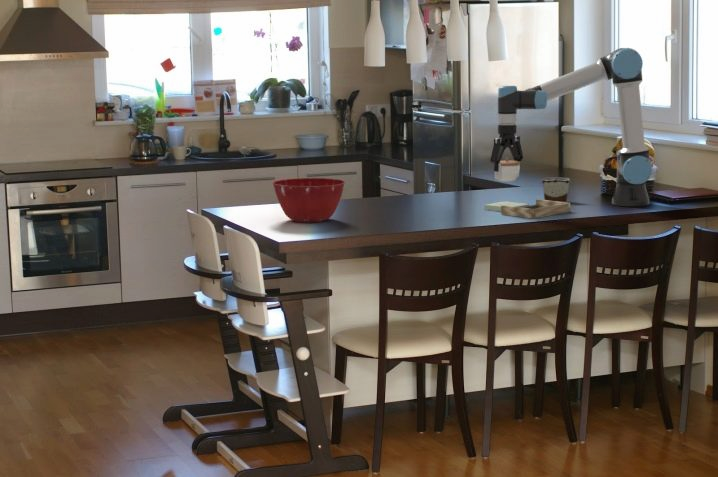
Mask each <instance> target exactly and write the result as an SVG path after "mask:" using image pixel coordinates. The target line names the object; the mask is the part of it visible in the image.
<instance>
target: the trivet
mask: <svg viewBox="0 0 718 477" xmlns="http://www.w3.org/2000/svg"><path fill="white" fill-rule="evenodd" d="M502 205H505V206H513V207H524V206H530V204H529V203H523V202H522V203H521V202H515V201H513V202H512V201H507V200H505V201H500V202H498V201H497V202H493V203H486V204H484V205H483V208H484V209H483V210H485V211H494V212H500V213H501V206H502Z"/></svg>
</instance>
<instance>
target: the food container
mask: <svg viewBox="0 0 718 477" xmlns="http://www.w3.org/2000/svg"><path fill="white" fill-rule="evenodd" d="M540 184H542V190H543V198H544V199H543V200H549V201H558V202H566V203H568V196H569V187H570V184H571V179H570V178H569V177H560V176H559V177H557V176H556V177H555V176H554V177H543V178H542V180H541V183H540Z"/></svg>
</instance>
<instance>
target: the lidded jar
mask: <svg viewBox="0 0 718 477" xmlns="http://www.w3.org/2000/svg"><path fill="white" fill-rule="evenodd" d="M499 164H501V180H498V181H499V182H503V183H505V182H510V183H511V182H514V181H515V180H516V179H517V178H518V177H517V176H518V174H519V175H520V169H521V166H520V165H521V161H514V160H511V159H510V160H509V157H505V160H500V163H499ZM493 172H494V173H495V171H494V170H493Z"/></svg>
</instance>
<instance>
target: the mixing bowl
mask: <svg viewBox="0 0 718 477" xmlns="http://www.w3.org/2000/svg"><path fill="white" fill-rule="evenodd" d="M345 183H346V181H345V180H342V179H339V178H326V177H310V178H309V177H303V178H302V177H301V178H298V177H297V178H287V179H285V178H284V179H280V180H276V181H275V180H274V181H272V185H273V188H274V191H275V194H276V195H275V196H276V197H277V198H276V199H277V201H278V203H279V205H280V208H281V209H282V212H283V213H284V214H285V216H286V217H287V218H289V220H292V222H294V221H295V223H301V222H307V223H308V224H311V223H310V222H315V223H323V222H326V221H327V220H328V219H330V218H331V217H332V216H333V215H334V214H335V212H336V211H337V208H338V206H339V204H340V200H341V198H342V196H343V195H342V194H343V191H344V187H345ZM325 220H326V221H325ZM322 221H323V222H322Z"/></svg>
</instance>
